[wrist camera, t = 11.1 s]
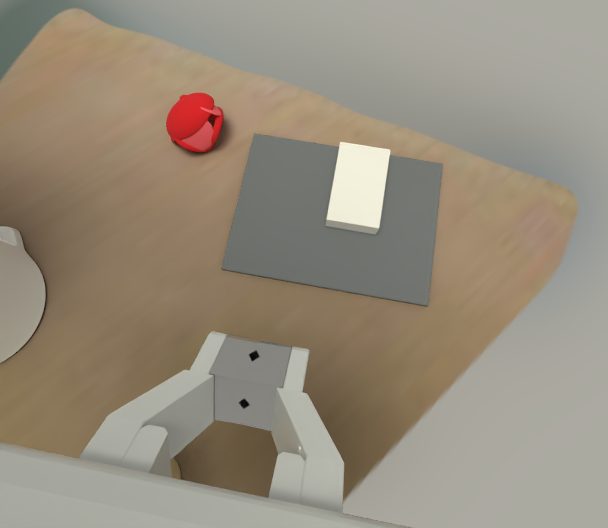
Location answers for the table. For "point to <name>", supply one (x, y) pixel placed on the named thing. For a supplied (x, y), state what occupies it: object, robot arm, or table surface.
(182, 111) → the red rounded piece
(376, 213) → the tile
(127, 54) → the table surface
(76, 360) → the table surface
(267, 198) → the mat
